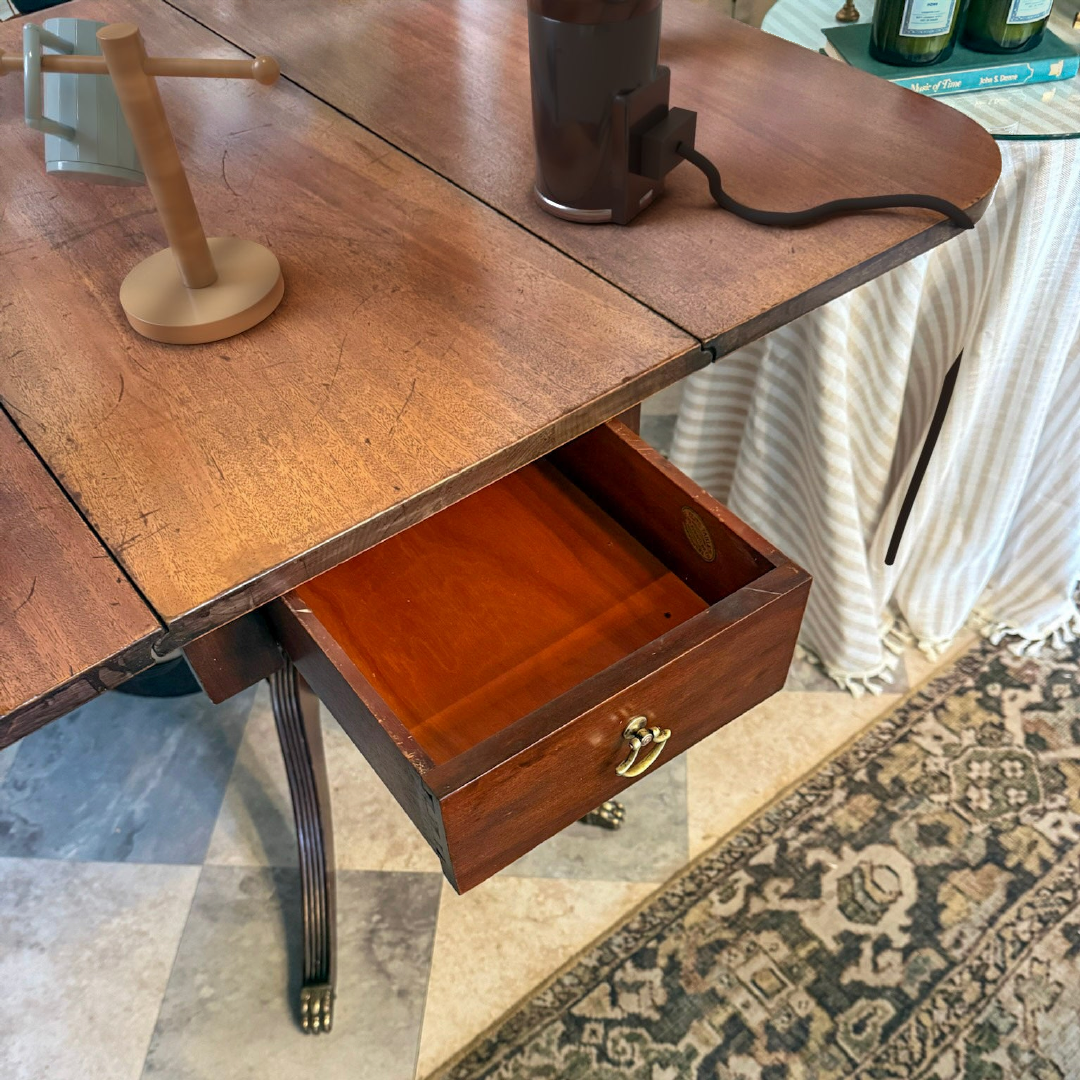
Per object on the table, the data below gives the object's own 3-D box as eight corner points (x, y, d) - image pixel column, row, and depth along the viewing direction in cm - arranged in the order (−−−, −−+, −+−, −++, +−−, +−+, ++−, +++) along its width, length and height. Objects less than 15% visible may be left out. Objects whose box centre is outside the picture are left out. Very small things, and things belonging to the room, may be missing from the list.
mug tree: (354, 261, 73) (302, -3, 60) (307, 353, 66) (235, 75, 53) (118, 248, 76) (17, -8, 62) (47, 335, 68) (-84, 66, 55)
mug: (82, 184, 69) (80, 45, 68) (162, 189, 69) (162, 48, 67) (-17, 156, 60) (-22, -6, 58) (76, 161, 59) (73, -4, 57)
